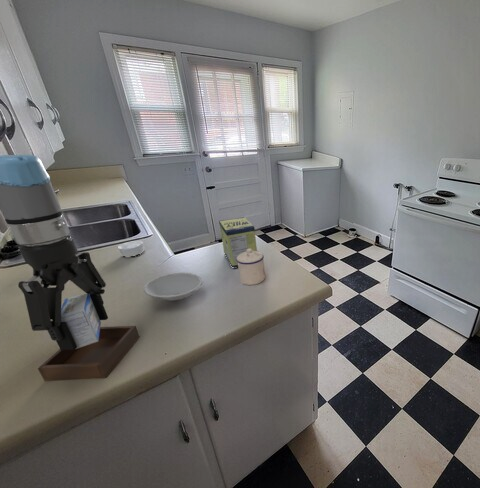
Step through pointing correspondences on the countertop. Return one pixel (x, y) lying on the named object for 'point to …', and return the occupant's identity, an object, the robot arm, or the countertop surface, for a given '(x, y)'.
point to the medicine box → (81, 319)
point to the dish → (173, 286)
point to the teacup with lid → (251, 267)
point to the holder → (91, 356)
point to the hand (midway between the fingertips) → (86, 332)
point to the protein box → (237, 238)
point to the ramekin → (131, 248)
